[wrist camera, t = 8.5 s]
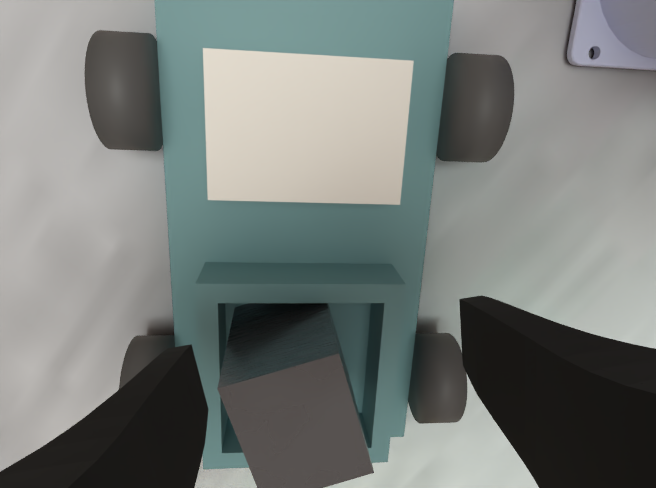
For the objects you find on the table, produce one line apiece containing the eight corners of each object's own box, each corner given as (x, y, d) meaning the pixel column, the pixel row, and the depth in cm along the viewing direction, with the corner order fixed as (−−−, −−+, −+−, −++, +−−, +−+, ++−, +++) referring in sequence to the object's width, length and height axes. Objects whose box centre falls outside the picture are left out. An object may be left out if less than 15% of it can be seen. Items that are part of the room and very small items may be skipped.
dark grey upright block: (321, 282, 20) (338, 353, 14) (349, 375, 22) (373, 472, 16) (234, 307, 20) (217, 388, 14) (268, 398, 22) (264, 504, 16)
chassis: (481, 7, 19) (533, -17, 15) (426, 419, 24) (454, 478, 21) (117, -21, 17) (70, -55, 13) (153, 428, 23) (127, 493, 19)
